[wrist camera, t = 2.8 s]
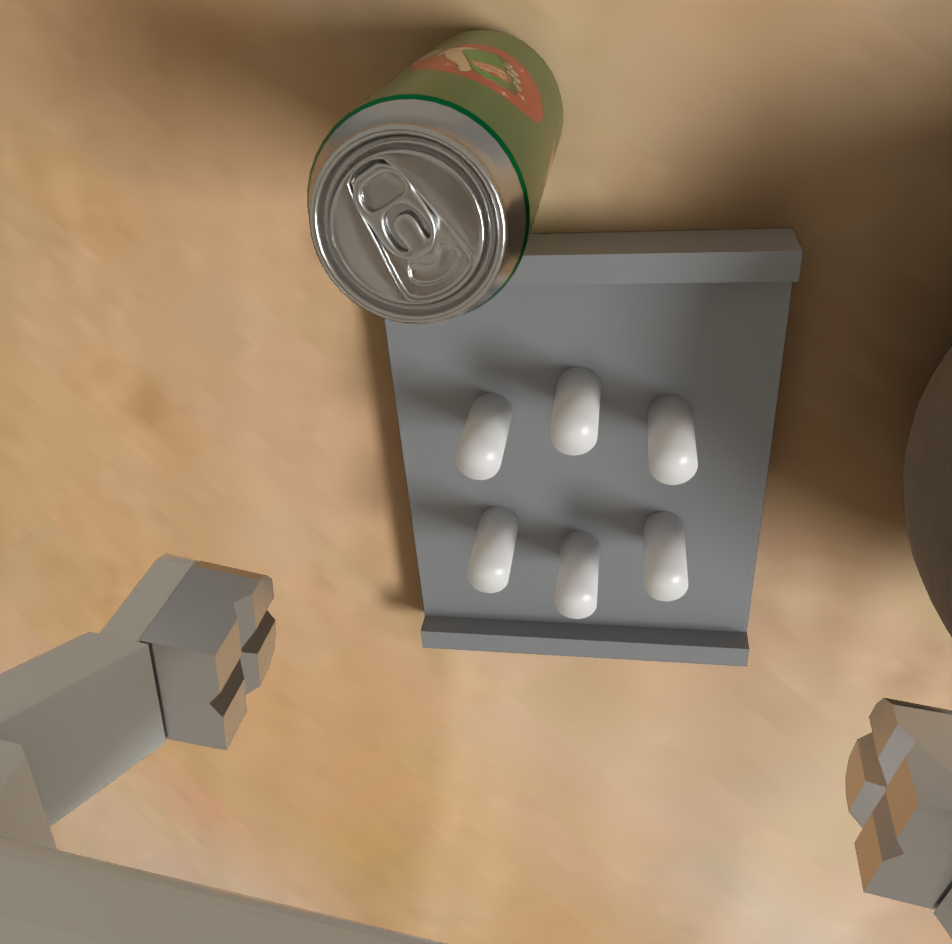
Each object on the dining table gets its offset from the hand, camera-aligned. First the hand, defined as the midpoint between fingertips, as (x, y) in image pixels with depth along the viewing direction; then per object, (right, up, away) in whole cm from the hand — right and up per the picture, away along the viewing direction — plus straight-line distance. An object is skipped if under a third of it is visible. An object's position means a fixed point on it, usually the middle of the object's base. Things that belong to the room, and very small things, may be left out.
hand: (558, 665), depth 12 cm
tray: (+3, +3, +23) cm, 24 cm away
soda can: (-1, +14, +17) cm, 22 cm away
